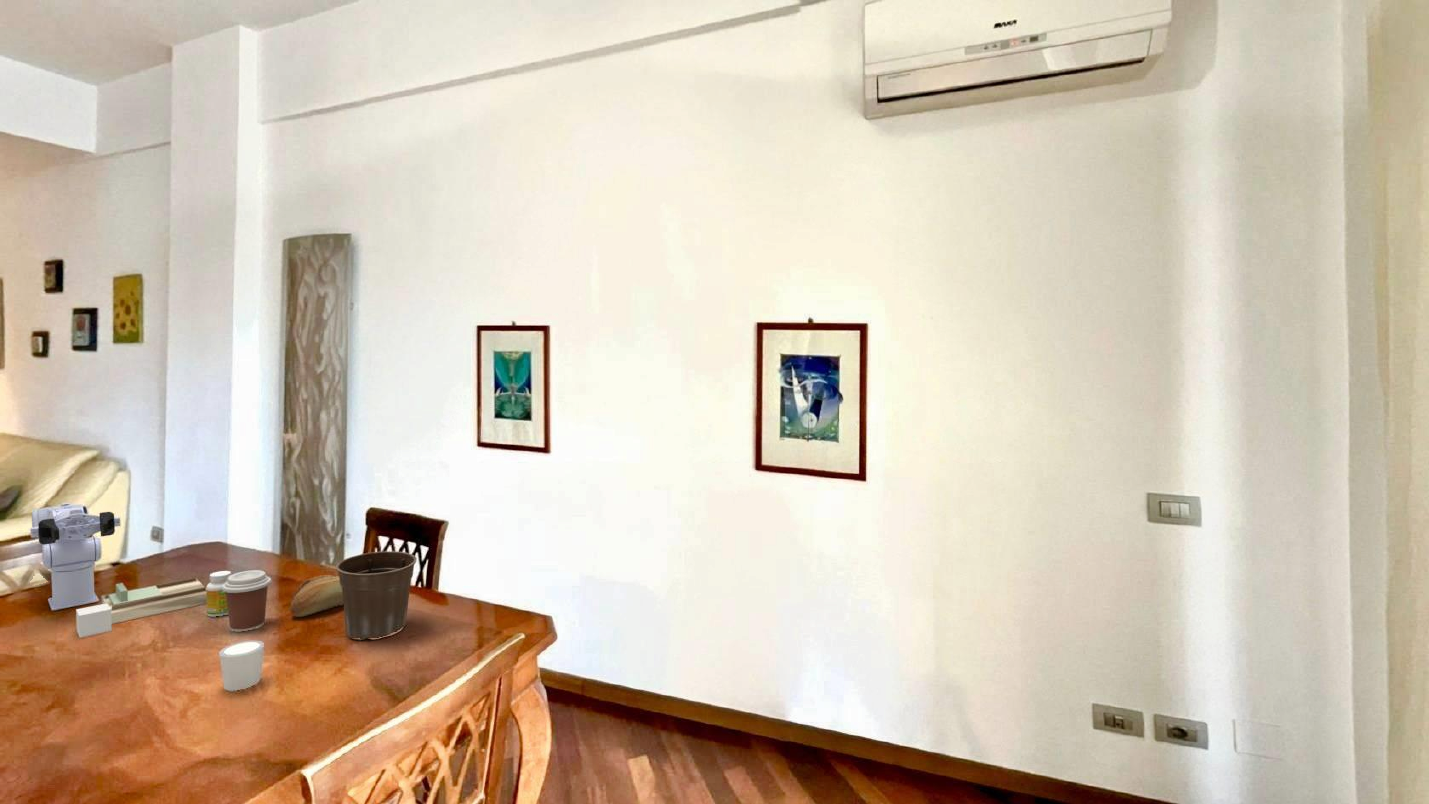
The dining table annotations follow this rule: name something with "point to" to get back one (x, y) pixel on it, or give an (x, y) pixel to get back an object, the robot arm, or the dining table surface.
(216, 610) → the supplement bottle
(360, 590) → the plant pot
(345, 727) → the dining table surface
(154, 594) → the cover
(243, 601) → the coffee cup
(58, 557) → the robot arm
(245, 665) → the white round tub
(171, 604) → the sliding lid box
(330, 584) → the bread roll
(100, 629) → the grey block
